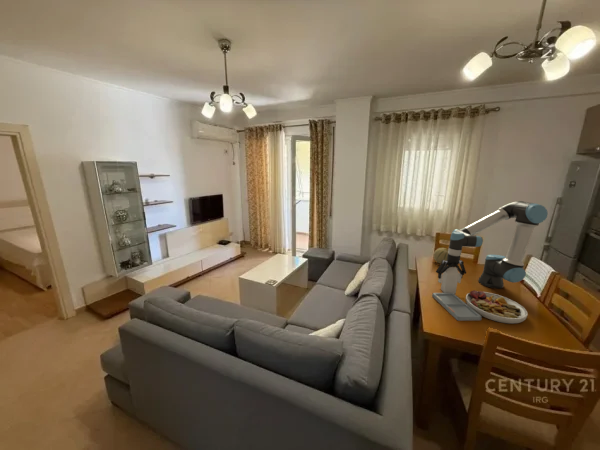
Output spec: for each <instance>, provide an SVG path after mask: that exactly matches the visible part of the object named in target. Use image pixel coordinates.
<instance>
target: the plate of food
mask: <svg viewBox="0 0 600 450" xmlns="http://www.w3.org/2000/svg"><path fill="white" fill-rule="evenodd" d="M465 303H466V304H467V305H468V306H469V307H471V308H472V309H473V310H474V311H476V312H477V313H478V314H479V315H480V316H482V317H483V318H486V319H489V320H492V321H493V322H494V321H495V322H497V323H498V322H499V323H503V324H511V325H512V324H514V325H515V324H519V323H523V322H524V321H525V320H526V319H527V318H528V311H527V309H526V308H525V306H523V305H521V304H519V302H516V301H514V300H513V299H510V298H508V297H506V296H502V295H499V294H496V293H492V292H487V291H482V290H478V291H477V290H471V291H469V293H468V292H467V294H466V296H465Z"/></svg>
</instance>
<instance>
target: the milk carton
mask: <svg viewBox="0 0 600 450" xmlns="http://www.w3.org/2000/svg"><path fill="white" fill-rule="evenodd" d="M458 273H459V271H458V270H457V268H456V267H450V268H448V269H447V270H446V271H445V272H444V273H442V275H443V277H442V283H440V284H441V286H440V290H441V291H442V293H453V294H455V295H456V292H457V287H458V276H459V274H458Z"/></svg>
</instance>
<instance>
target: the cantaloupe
mask: <svg viewBox="0 0 600 450" xmlns="http://www.w3.org/2000/svg"><path fill="white" fill-rule="evenodd" d="M448 250H449V248H446V247H438V248H437V249H436V250H435V251H434V252H433V258H434V260H435V261H436V262H437V264H438V263H439V264H440V265H441V263H442V260H444V261H447V255H448ZM446 264H447V263H446ZM446 264H445V265H446Z"/></svg>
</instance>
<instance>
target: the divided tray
mask: <svg viewBox="0 0 600 450" xmlns="http://www.w3.org/2000/svg"><path fill="white" fill-rule="evenodd" d="M431 293H432V295H431V297H432V298H433V299H435V300H436V301H437V302H438V304H440V306H442V307H443V308H444V309H445V310H446V311H447V312H448V313H449V314H450V315H451V316H452V317H453V318H454V319H455V320H457V321H458V322H459V321H460V322H461V321H482V317H483V316H481V315H479V314H478V313H477V312H476V311H474V310H473V309H472V308H471V307H469V306H468V305H467V303H466V302H465V301H464V300H462V299H461V298H460V297H458V295H456V293H455V294H453V293H444V292H431Z"/></svg>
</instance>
